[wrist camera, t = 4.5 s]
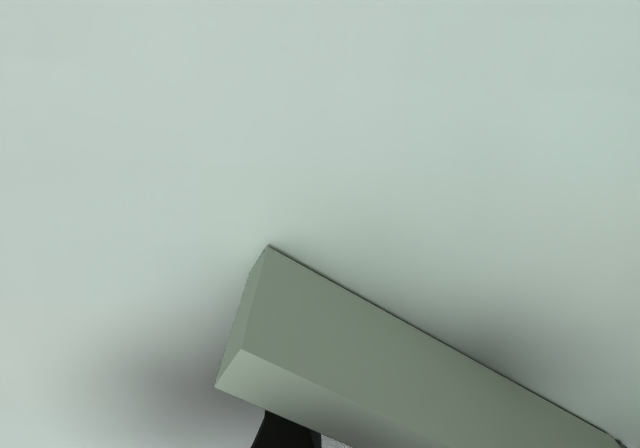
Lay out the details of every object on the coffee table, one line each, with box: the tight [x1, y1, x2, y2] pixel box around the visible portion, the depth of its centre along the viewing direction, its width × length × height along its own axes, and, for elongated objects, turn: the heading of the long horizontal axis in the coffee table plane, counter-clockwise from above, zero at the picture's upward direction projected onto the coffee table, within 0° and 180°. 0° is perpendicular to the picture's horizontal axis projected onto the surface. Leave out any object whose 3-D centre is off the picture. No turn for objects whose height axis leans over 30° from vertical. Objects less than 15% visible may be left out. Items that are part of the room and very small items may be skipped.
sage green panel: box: [214, 246, 627, 448], centre depth 10 cm, size 16×1×4 cm, turn 57°
